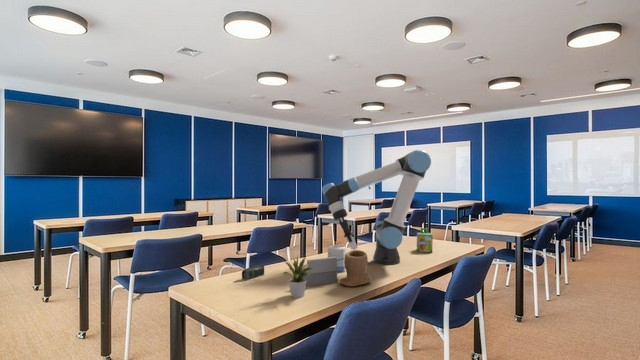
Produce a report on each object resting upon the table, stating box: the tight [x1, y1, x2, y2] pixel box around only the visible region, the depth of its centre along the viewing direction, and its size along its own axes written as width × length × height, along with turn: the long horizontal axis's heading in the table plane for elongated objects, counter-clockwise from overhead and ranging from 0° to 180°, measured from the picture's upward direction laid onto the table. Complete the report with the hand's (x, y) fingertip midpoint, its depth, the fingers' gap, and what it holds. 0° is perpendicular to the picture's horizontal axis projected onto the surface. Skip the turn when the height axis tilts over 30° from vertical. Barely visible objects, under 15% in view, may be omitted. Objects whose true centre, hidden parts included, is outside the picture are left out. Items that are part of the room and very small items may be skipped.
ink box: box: [327, 245, 346, 273], centre depth 180 cm, size 9×8×12 cm
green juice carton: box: [416, 227, 434, 254], centre depth 225 cm, size 9×9×15 cm
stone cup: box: [338, 249, 373, 287], centre depth 154 cm, size 15×12×15 cm
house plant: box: [282, 254, 315, 299], centre depth 138 cm, size 14×14×16 cm
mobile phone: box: [240, 265, 265, 282], centre depth 166 cm, size 5×3×15 cm
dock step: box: [301, 257, 338, 287], centre depth 162 cm, size 14×16×11 cm
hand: (354, 248), depth 178 cm, fingers open, 13 cm apart
